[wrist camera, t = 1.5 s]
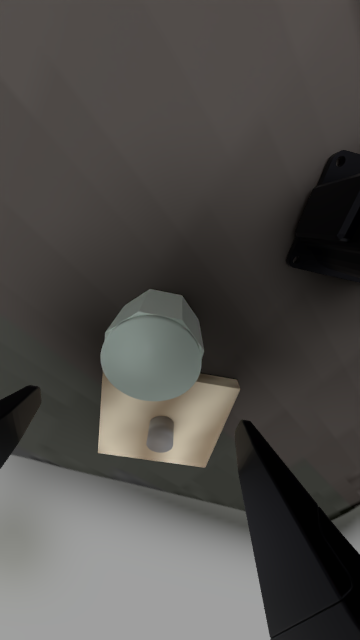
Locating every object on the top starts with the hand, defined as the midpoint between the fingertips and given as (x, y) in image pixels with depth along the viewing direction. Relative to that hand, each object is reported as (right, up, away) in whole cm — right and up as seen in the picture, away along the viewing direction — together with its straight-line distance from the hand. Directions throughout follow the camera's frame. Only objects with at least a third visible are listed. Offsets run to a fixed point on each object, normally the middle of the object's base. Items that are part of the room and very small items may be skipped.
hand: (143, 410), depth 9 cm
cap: (0, +3, +8) cm, 8 cm away
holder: (0, -6, +12) cm, 13 cm away
